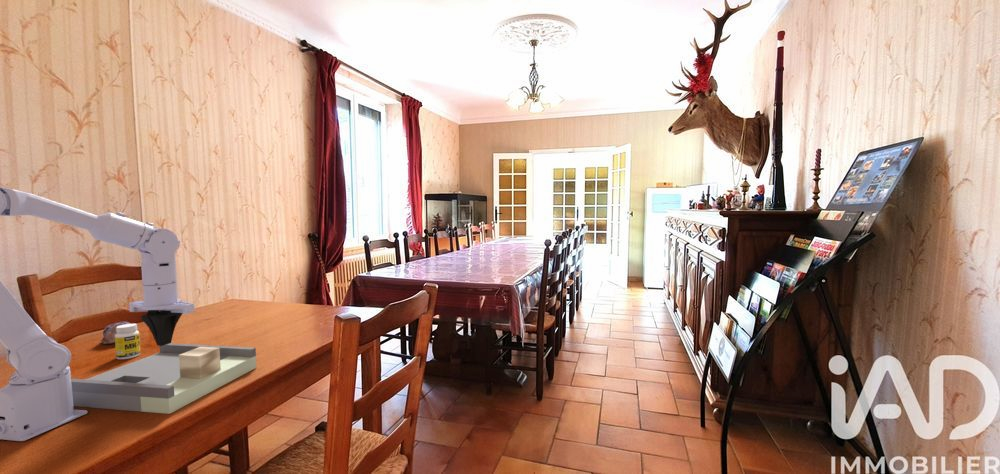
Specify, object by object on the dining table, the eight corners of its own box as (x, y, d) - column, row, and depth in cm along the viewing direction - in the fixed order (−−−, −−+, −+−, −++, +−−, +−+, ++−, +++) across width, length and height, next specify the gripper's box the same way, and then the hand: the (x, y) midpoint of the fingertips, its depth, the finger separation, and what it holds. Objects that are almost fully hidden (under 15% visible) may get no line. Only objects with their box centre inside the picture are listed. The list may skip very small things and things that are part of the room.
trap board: (169, 413, 75) (167, 388, 75) (57, 404, 79) (55, 380, 79) (256, 367, 97) (255, 347, 96) (165, 362, 101) (163, 342, 100)
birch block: (200, 379, 83) (199, 356, 83) (180, 377, 84) (178, 354, 84) (220, 369, 88) (219, 347, 88) (201, 368, 89) (200, 346, 89)
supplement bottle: (125, 360, 102) (123, 328, 101) (111, 359, 103) (108, 327, 102) (145, 353, 106) (143, 323, 106) (131, 352, 107) (129, 322, 107)
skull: (102, 338, 120) (100, 318, 119) (136, 332, 125) (134, 314, 125) (100, 348, 111) (98, 327, 111) (137, 342, 116) (135, 321, 116)
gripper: (205, 280, 89) (208, 339, 90) (150, 279, 91) (154, 336, 92) (175, 286, 82) (179, 350, 83) (116, 285, 84) (121, 347, 85)
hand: (164, 344), depth 87 cm, fingers closed
